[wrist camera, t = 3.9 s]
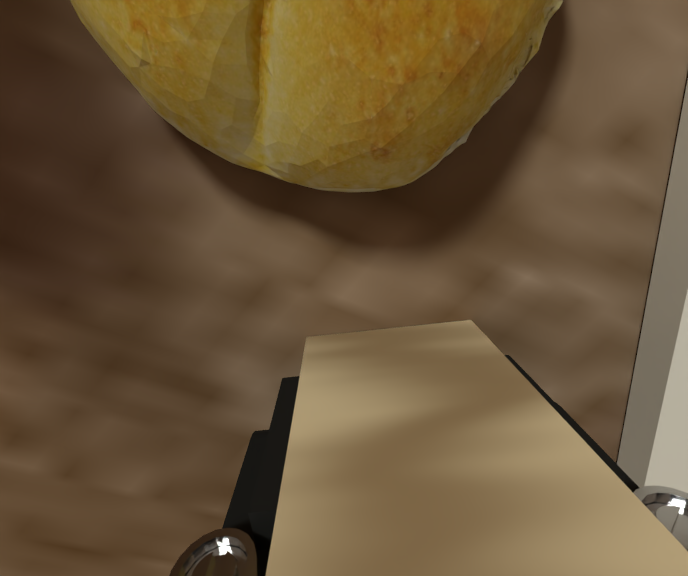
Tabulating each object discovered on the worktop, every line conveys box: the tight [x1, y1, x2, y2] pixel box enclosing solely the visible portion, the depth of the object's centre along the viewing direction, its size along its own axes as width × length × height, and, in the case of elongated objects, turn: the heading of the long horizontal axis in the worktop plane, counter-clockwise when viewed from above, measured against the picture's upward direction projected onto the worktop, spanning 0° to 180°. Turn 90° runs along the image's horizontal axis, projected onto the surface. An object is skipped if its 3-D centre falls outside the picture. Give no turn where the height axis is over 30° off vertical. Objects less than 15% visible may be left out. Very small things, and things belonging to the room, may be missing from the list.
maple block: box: [266, 320, 688, 576], centre depth 7 cm, size 4×4×7 cm
